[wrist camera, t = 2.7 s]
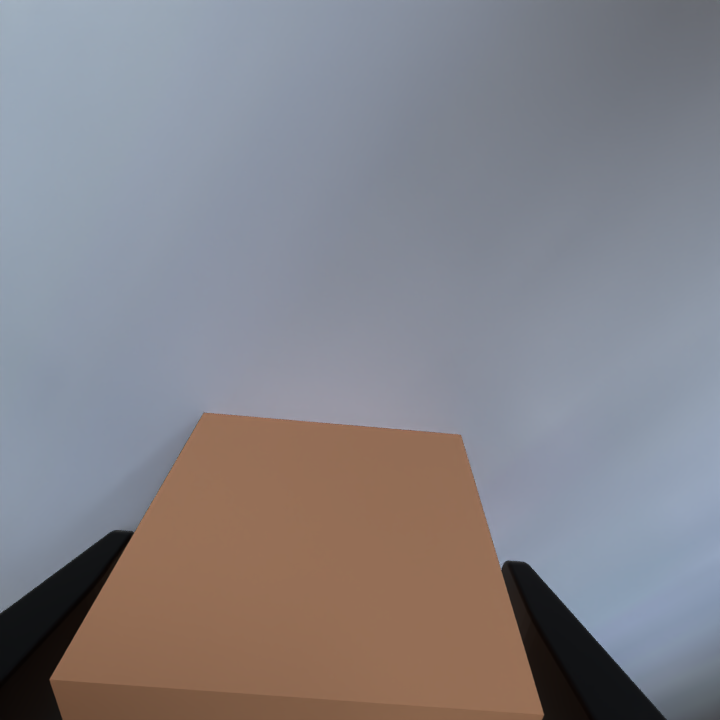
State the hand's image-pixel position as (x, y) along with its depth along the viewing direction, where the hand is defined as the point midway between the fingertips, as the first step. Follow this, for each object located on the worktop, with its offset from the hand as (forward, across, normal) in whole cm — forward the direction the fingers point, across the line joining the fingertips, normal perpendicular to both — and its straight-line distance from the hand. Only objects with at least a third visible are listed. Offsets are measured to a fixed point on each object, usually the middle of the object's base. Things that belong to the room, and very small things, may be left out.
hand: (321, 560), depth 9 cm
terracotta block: (+1, 0, 0) cm, 1 cm away
